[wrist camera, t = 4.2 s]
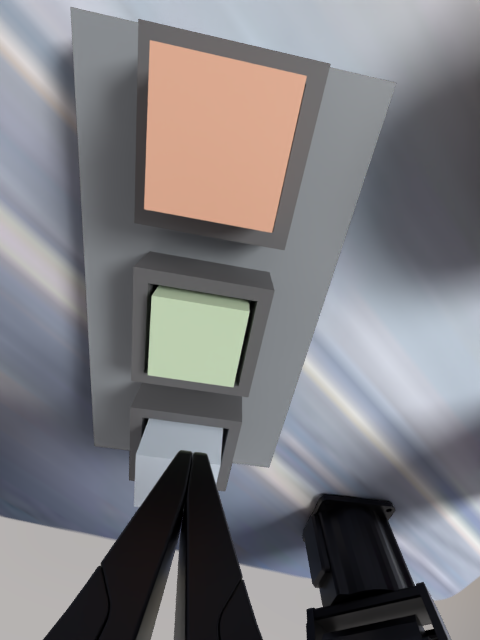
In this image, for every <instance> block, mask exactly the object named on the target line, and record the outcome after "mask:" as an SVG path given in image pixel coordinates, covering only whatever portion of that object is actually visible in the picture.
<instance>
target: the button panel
mask: <svg viewBox="0 0 480 640" xmlns="http://www.w3.org/2000/svg"><path fill="white" fill-rule="evenodd" d="M70 8H71V26H72V45H73V63H74V81H75V100H76V118H77V136H78V155H79V173H80V192H81V210H82V228H83V247H84V265H85V283H86V302H87V320H88V338H89V357H90V375H91V393H92V412H93V430H94V446H97V447H105V448H113V449H121V450H130V456H129V480H131V481H135V463H136V453H137V450H138V447H139V444H140V442H141V439H142V436H143V434H144V431H145V428H146V425H147V423H148V420H149V418H150V419H158V420H165V421H173V422H180V423H188V424H196V425H203V426H211V427H218V428H223V436H222V451H221V465H220V470H219V474H218V479H217V483H216V486H217V489H218V491H225V490H226V486H227V482H228V478H229V474H230V470H231V466H232V463H236V464H244V465H252V466H260V467H268V468H269V466H270V463H271V460H272V457H273V454H274V451H275V448H276V445H277V442H278V439H279V436H280V433H281V430H282V427H283V424H284V421H285V418H286V415H287V412H288V409H289V406H290V403H291V400H292V397H293V394H294V391H295V388H296V385H297V382H298V379H299V376H300V373H301V370H302V367H303V364H304V361H305V358H306V355H307V352H308V349H309V346H310V343H311V340H312V337H313V334H314V331H315V328H316V325H317V322H318V319H319V316H320V313H321V310H322V306H323V303H324V300H325V297H326V294H327V291H328V288H329V285H330V282H331V279H332V276H333V273H334V270H335V267H336V264H337V261H338V258H339V255H340V252H341V249H342V246H343V243H344V240H345V237H346V234H347V231H348V228H349V225H350V222H351V219H352V216H353V213H354V210H355V207H356V204H357V201H358V198H359V195H360V192H361V189H362V186H363V183H364V180H365V177H366V174H367V171H368V168H369V165H370V162H371V159H372V156H373V153H374V150H375V147H376V144H377V141H378V137H379V134H380V131H381V128H382V125H383V122H384V119H385V116H386V113H387V110H388V107H389V104H390V101H391V98H392V95H393V92H394V89H395V86H396V83H395V82H391V81H387V80H382V79H378V78H374V77H369V76H365V75H361V74H357V73H352V72H348V71H344V70H339V69H335V68H331V67H330V65H331V64H329V63H325V62H320V61H316V60H312V59H308V58H303V57H299V56H295V55H290V54H286V53H282V52H278V51H273V50H269V49H265V48H261V47H256V46H252V45H248V44H243V43H239V42H235V41H231V40H226V39H222V38H218V37H214V36H209V35H205V34H201V33H196V32H192V31H188V30H184V29H179V28H175V27H171V26H166V25H162V24H158V23H154V22H149V21H145V20H141V19H138V22H133V21H129V20H125V19H121V18H116V17H112V16H108V15H103V14H99V13H95V12H90V11H86V10H82V9H78V8H73V7H70ZM150 40H152V41H156V42H161V43H165V44H170V45H174V46H178V47H183V48H187V49H191V50H196V51H200V52H204V53H209V54H213V55H218V56H222V57H226V58H231V59H235V60H239V61H244V62H248V63H252V64H257V65H261V66H266V67H270V68H274V69H279V70H283V71H287V72H292V73H296V74H300V75H305V76H307V78H306V82H305V87H304V91H303V96H302V100H301V105H300V109H299V114H298V118H297V123H296V127H295V132H294V136H293V141H292V145H291V150H290V154H289V159H288V163H287V168H286V173H285V177H284V182H283V186H282V191H281V195H280V200H279V204H278V209H277V213H276V218H275V222H274V227H273V231H272V233H270V232H264V231H259V230H254V229H248V228H243V227H237V226H232V225H227V224H221V223H216V222H210V221H205V220H200V219H194V218H189V217H183V216H178V215H173V214H167V213H162V212H156V211H151V210H146V209H144V198H145V168H146V139H147V110H148V80H149V51H150ZM159 285H162V286H168V287H174V288H180V289H186V290H192V291H198V292H204V293H210V294H216V295H222V296H228V297H234V298H240V299H246V300H249V310H250V312H249V317H248V322H247V326H246V331H245V336H244V340H243V345H242V350H241V354H240V359H239V364H238V368H237V373H236V378H235V382H234V387H227V386H220V385H213V384H206V383H199V382H192V381H185V380H178V379H171V378H164V377H157V376H150V375H148V358H149V338H150V319H151V299H152V294H153V293H154V292H155V290H156V289H157V287H158V286H159Z"/></svg>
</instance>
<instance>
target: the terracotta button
mask: <svg viewBox="0 0 480 640" xmlns="http://www.w3.org/2000/svg"><path fill="white" fill-rule="evenodd" d="M306 78H307V76H305V75H300V74H296V73H292V72H287V71H283V70H279V69H274V68H270V67H266V66H261V65H257V64H252V63H248V62H244V61H239V60H235V59H231V58H226V57H222V56H218V55H213V54H209V53H204V52H200V51H196V50H191V49H187V48H183V47H178V46H174V45H170V44H165V43H161V42H156V41H152V40H150V51H149V80H148V110H147V139H146V168H145V198H144V209H146V210H151V211H156V212H162V213H167V214H173V215H178V216H183V217H189V218H194V219H200V220H205V221H210V222H216V223H221V224H227V225H232V226H237V227H243V228H248V229H254V230H259V231H264V232H270V233H272V231H273V227H274V222H275V218H276V213H277V209H278V204H279V200H280V195H281V191H282V186H283V182H284V177H285V173H286V168H287V163H288V159H289V154H290V150H291V145H292V141H293V136H294V132H295V127H296V123H297V118H298V114H299V109H300V105H301V100H302V96H303V91H304V87H305V82H306Z"/></svg>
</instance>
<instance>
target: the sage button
mask: <svg viewBox="0 0 480 640" xmlns="http://www.w3.org/2000/svg"><path fill="white" fill-rule="evenodd" d="M249 312H250V310H249V300H246V299H240V298H234V297H228V296H222V295H216V294H210V293H204V292H198V291H192V290H186V289H180V288H174V287H168V286H162V285H159V286H158V287H157V289H156V290H155V292H154V293H153V294H152V299H151V319H150V338H149V358H148V375H150V376H157V377H164V378H171V379H178V380H185V381H192V382H199V383H206V384H213V385H220V386H227V387H234V382H235V378H236V373H237V368H238V364H239V359H240V354H241V350H242V345H243V340H244V336H245V331H246V326H247V322H248V317H249Z"/></svg>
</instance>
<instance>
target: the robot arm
mask: <svg viewBox="0 0 480 640" xmlns="http://www.w3.org/2000/svg"><path fill="white" fill-rule="evenodd" d="M394 511H395V508H394V506H393V504H392V503H391V502H384V501H375V500H367V499H358V498H350V497H341V496H333V495H323V496H321V497H320V499H319V501H318V503H317V505H316V507H315V509H314V511H313V514H312V515H311V516H310V518H309V521H308V523H307V525H306V527H305V529H304V532H303V535H302V536H303V541H304V542H305V544H306V550H307V555H308V561H309V567H310V573H311V578H312V584H313V585H314V586H315V588H319V589H320V594H321V600H322V605H323V607H321V608H317V609H315V608H309V609H307V624H306V629H307V640H451V638H450V635H449V633H448V631H447V629H446V627H445V624H444V622H443V620H442V618H441V615H440V613H439V611H438V609H437V607H436V605H435V603H434V601H433V599H432V597H431V595H430V593H429V591H428V590H427V588H426V586H425V584H424V582H421V583H417V584H416V586H415V584H414V582H413V580H412V577H411V575H410V572H409V570H408V568H407V565H406V563H405V561H404V558H403V556H402V553H401V551H400V549H399V546H398V544H397V541H396V539H395V537H394V534H393V532H392V529H391V527H390V525H389V522H388V520H389V518H390V517H391V516H392V514H393V513H394ZM181 524H182V525H181ZM180 529H181V532H180ZM179 534H180V544H179V561H178V579H177V594H176V595H177V596H176V612H175V628H174V640H263V639H262V636H261V633H260V631H259V628H258V625H257V622H256V619H255V616H254V613H253V609H252V606H251V603H250V600H249V597H248V593H247V590H246V586H245V583H244V580H242V573H241V569H240V566H239V562H238V559H237V555H236V552H235V548H234V545H233V541H232V538H231V535H230V531H229V528H228V524H227V521H226V517H225V514H224V510H223V507H222V503H221V500H220V496H219V493H218V489H217V486H216V482H215V479H214V475H213V472H212V468H211V465H210V461H209V458H208V455H207V454H206V453H202V452H194V453H192V452H191V451H186V450H180V451H179V452H178V453H177V454H176V456H175V457H174V458H173V460H172V461H171V463H170V464H169V466H168V467H167V468H166V470H165V471H164V473H163V474H162V476H161V477H160V479H159V480H158V481H157V483H156V484H155V486H154V487H153V489H152V490H151V491H150V493H149V494H148V496H147V497H146V499H145V500H144V502H143V503H142V504H141V506H140V507H139V509H138V510H137V512H136V513H135V514H134V516H133V517H132V519H131V520H130V522H129V523H128V525H127V526H126V527H125V529H124V530H123V532H122V533H121V535H120V536H119V537H118V539H117V540H116V542H115V543H114V545H113V546H112V547H111V549H110V550H109V552H108V553H107V555H106V556H105V558H104V559H103V561H102V562H101V566H98V567H97V569H96V570H95V572H94V573H93V574H92V576H91V577H90V579H89V580H88V582H87V583H86V584H85V586H84V587H83V589H82V590H81V591H80V593H79V594H78V595H77V597H76V598H75V599H74V601H73V602H72V604H71V605H70V606H69V608H68V609H67V610H66V612H65V613H64V614H63V615H62V617H61V618H60V619H59V620H58V622H57V623H56V624H55V625H54V627H53V628H52V629H51V630H50V632H49V633H48V634H47V635H46V637H45V638H44V639H43V640H150V639H151V636H152V632H153V629H154V625H155V621H156V618H157V614H158V611H159V607H160V603H161V600H162V596H163V593H164V589H165V585H166V582H167V578H168V574H169V571H170V567H171V563H172V560H173V556H174V553H175V549H176V545H177V542H178V538H179ZM428 624H432V625H433V627H434V629H431V630H426V631H425V630H424V628H423V625H428Z"/></svg>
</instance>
